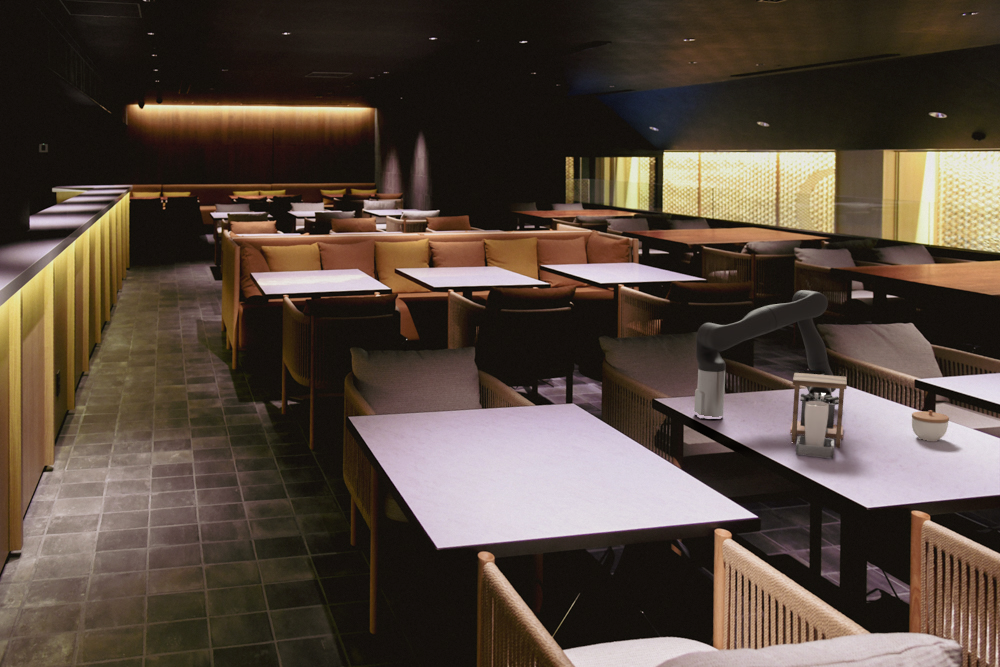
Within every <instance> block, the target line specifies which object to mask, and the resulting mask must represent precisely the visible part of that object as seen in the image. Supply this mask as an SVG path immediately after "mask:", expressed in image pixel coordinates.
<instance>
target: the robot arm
mask: <svg viewBox="0 0 1000 667" xmlns="http://www.w3.org/2000/svg"><path fill="white" fill-rule="evenodd" d="M791 300H792V301H791V302H786V303H777V304H775V303H774V304H769V305H764V306H762V307H758V308H756V309H753V310H751V311H750V312H748V313H747V314H746V315H745V316H744V317H743V318H742V319H741V320H739V321H736V322H733V323H729V324H717V323H714V322H713V323H712V322H705V323H703V324H702V325H701V326H700V327H698V330H697V333H696V342H695V344H696V346H695V348H696V349H695V350H696V351H695V352H696V354H695V355H696V356H695V357H696V361H697V364H698V365H697V366H698V369H697V370H698V371H697V388H696V389H695V390H694V410H693V412H694V411H695V412H697V413H698V414H699V415H704V416H712V417H719V416H722V415H723V416H724V409H725V408H724V405H725V388H726V386H725V384H726V362H725V360H724V359H723V358H722V356H721V354H720V352H723V351H726V350H728V349H730V348H732V347H734V346H736V345H739V344H740V343H742V342H744V341H748V340H750V339H754V338H756V337H759V336H763V335H766V334H768V333H771V332H774V331H776V330H779V329H782V328H784V327H786V326H790V325H792V324H794V323H797V326H798V328H799V330H800V334H801V337H802V340H803V344H804V347H805V348H804V349H805V354H806V360H807V365H808V366H807V367H808V369H809V370H811V371H815V372H820V373H822V374H820V375H830V376H835V375H834V374H833V371H832V369H831V367H830V364H829V359H828V354H827V348H826V344H825V343H824V340H823V338H822V337H821V335H820V333H819V332H818V330H817V328H816V325H815V323H814V318H817V317H820V316H821V315H823V314H824V313H825V312H826V310H827V308H828V305H829V301H828V298H827V296H825V295H824V294H823V293H821V292H818V291H813V290H808V289H807V290H806V289H805V290H804V289H803V290H798V291H796V292H795V293H794V295H793V297H792V299H791ZM806 389H807V391H808V393H807V394H806V393H800V397H799V401H800V402H802V401H807V402H808V401H820V402H825V403H830V404H835V406H836V405H837V406H838V402H839V396H833V395H832V393H833V392H835V391H836V390H837V389H836V388H824V387H811V386H806Z"/></svg>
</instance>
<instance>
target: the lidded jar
mask: <svg viewBox="0 0 1000 667" xmlns="http://www.w3.org/2000/svg"><path fill="white" fill-rule="evenodd" d="M949 421H950V417H949V416H948V415H947V414H943V413H940V412H935V411H934V410H931V409H930V410H928V411H924V410H923V411H921V410H920V411H914V412H912V413H911V428H912V431H913V433H914V434H915V435H916V436H917V438H918V439H919V438H920V439H919V440H921V439H923V440H922V441H925V440H927V441H926V442H938V441H937V440H940V439H941V438H943V437H944V436H945V434H946V433H947V430H948V427H949Z"/></svg>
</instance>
